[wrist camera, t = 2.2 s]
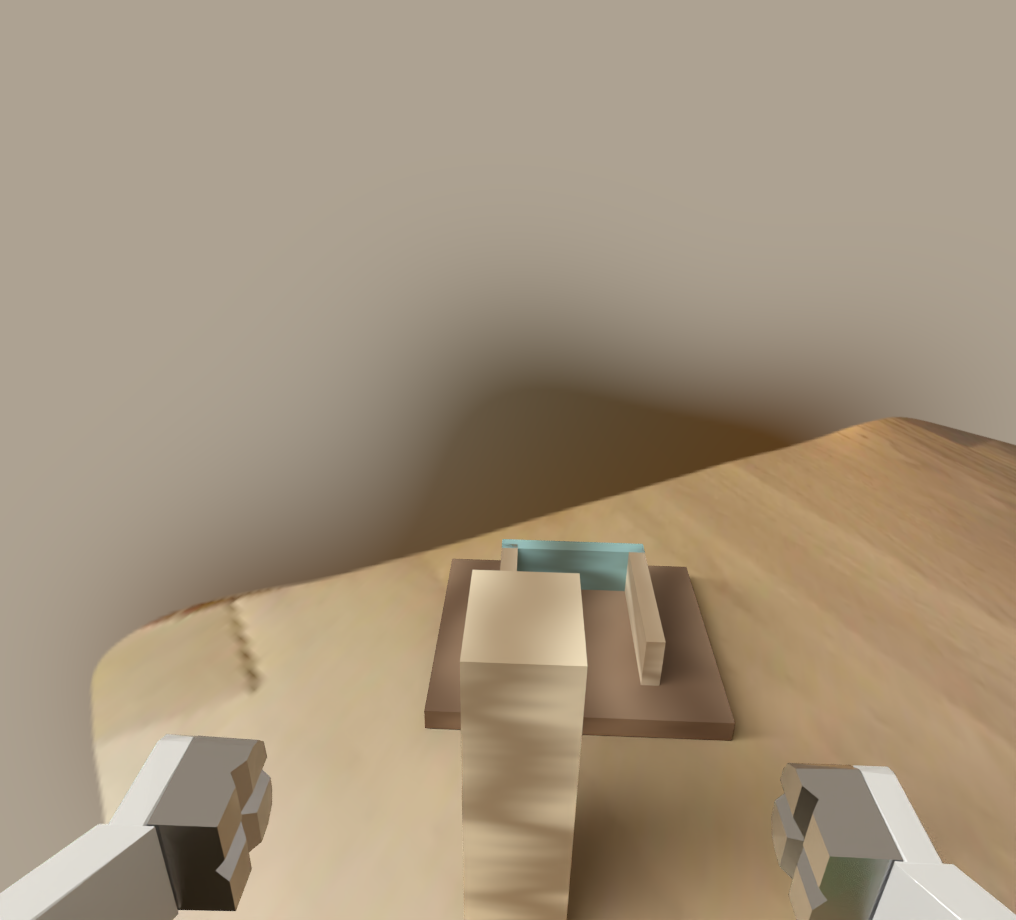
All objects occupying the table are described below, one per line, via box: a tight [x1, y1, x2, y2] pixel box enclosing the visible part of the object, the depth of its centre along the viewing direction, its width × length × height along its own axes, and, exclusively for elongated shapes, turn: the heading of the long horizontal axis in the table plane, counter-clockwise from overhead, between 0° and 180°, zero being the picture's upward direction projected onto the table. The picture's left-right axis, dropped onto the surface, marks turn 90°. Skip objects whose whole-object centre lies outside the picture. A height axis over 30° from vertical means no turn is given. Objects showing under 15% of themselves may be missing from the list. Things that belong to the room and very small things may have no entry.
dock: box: [424, 539, 735, 740], centre depth 44 cm, size 16×14×4 cm
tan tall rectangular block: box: [460, 570, 588, 920], centre depth 29 cm, size 4×5×14 cm
